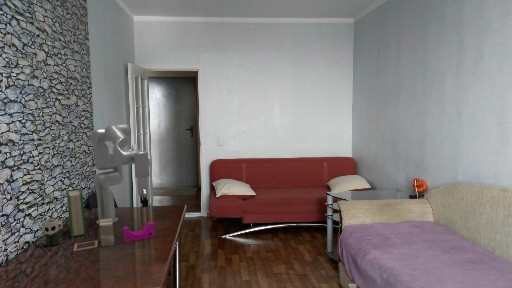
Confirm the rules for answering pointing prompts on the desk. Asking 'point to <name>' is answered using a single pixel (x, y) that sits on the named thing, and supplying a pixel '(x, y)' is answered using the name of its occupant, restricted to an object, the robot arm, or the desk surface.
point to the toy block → (139, 233)
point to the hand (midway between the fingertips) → (144, 204)
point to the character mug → (51, 231)
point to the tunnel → (106, 232)
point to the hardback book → (76, 212)
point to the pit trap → (85, 245)
